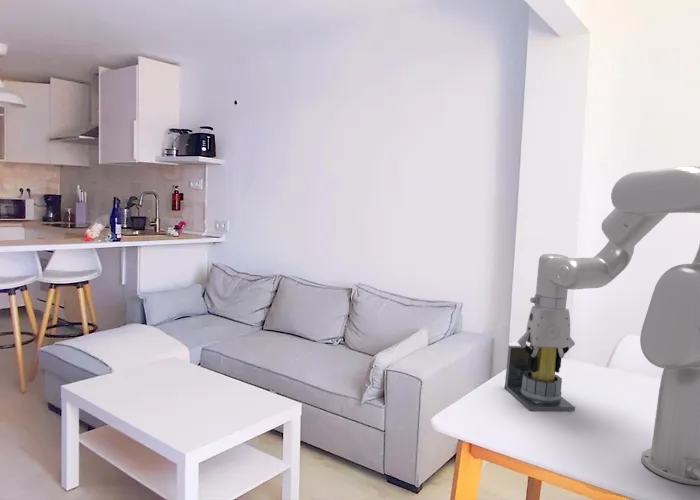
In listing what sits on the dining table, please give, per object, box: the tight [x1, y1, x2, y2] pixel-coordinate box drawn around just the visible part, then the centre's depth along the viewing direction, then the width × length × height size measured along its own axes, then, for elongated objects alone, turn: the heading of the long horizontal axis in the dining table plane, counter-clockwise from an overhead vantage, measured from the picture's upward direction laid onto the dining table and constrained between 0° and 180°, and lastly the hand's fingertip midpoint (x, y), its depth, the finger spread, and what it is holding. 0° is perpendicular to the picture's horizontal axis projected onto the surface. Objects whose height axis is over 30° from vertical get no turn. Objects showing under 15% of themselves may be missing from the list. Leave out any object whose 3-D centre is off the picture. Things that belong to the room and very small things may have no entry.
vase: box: [531, 348, 557, 382], centre depth 138 cm, size 6×6×14 cm
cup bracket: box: [504, 345, 576, 412], centre depth 140 cm, size 15×12×12 cm
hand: (543, 370), depth 138 cm, fingers closed on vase, 5 cm apart
